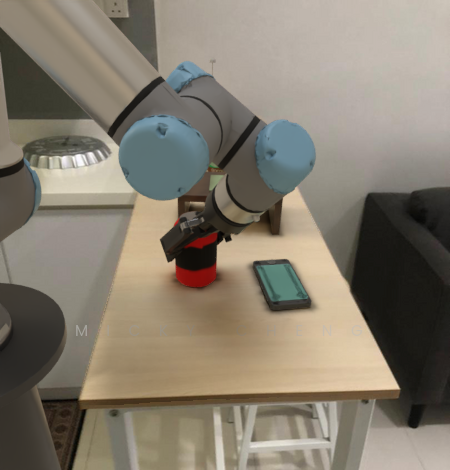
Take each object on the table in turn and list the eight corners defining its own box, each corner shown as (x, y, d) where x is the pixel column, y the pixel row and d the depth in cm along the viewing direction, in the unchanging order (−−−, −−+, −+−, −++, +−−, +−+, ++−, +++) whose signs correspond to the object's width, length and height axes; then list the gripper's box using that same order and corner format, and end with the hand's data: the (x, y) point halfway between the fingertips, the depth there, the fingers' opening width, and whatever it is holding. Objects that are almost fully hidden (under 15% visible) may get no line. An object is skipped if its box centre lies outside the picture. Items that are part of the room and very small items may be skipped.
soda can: (221, 270, 89) (223, 212, 82) (208, 291, 83) (209, 231, 76) (184, 263, 91) (183, 206, 84) (169, 283, 85) (166, 223, 78)
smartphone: (287, 257, 91) (312, 301, 79) (287, 263, 92) (311, 307, 80) (251, 260, 90) (271, 305, 78) (251, 265, 91) (270, 311, 79)
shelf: (178, 231, 101) (176, 180, 95) (183, 204, 113) (182, 157, 106) (278, 234, 102) (284, 184, 95) (274, 207, 113) (278, 161, 106)
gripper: (182, 241, 62) (143, 283, 82) (302, 210, 71) (240, 255, 91) (163, 189, 62) (129, 243, 83) (285, 165, 71) (226, 220, 92)
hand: (187, 249), depth 87 cm, fingers closed on soda can, 7 cm apart
